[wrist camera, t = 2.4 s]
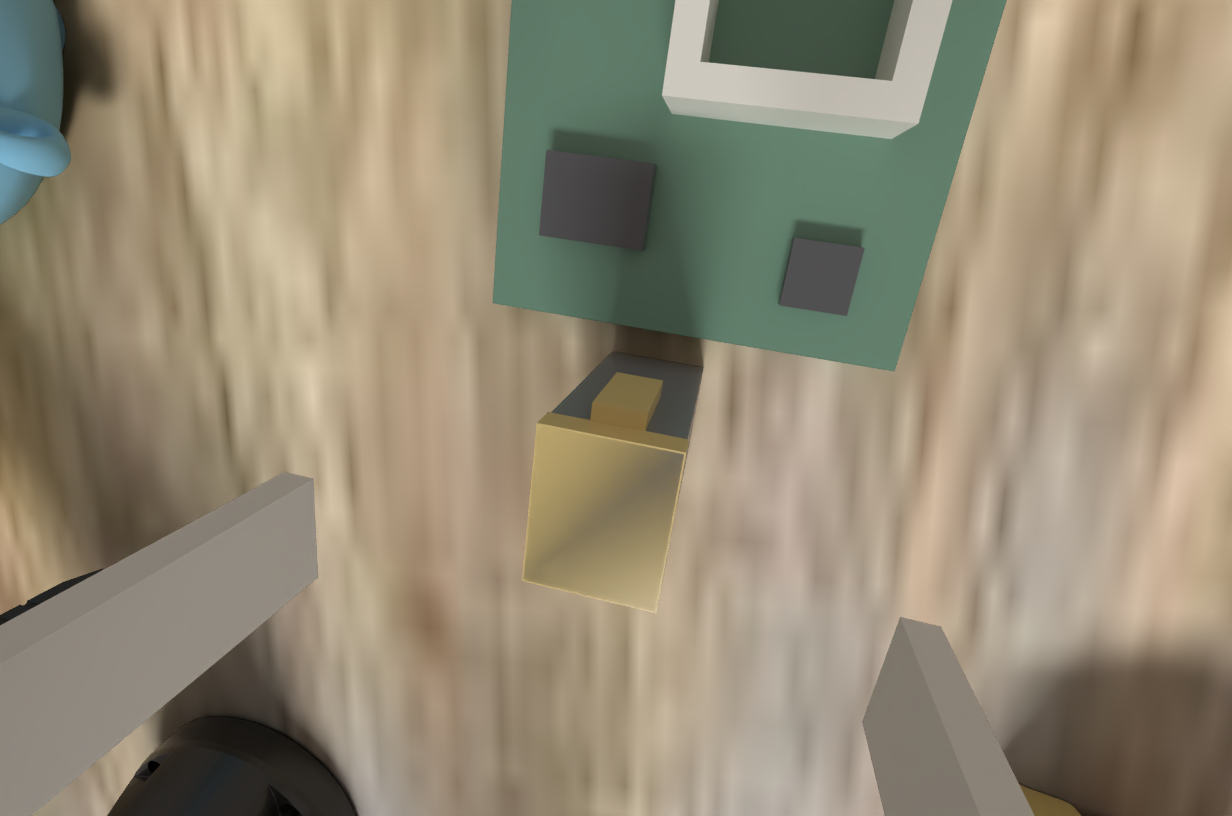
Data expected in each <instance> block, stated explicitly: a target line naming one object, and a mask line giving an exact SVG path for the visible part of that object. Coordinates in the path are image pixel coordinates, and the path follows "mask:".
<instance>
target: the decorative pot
mask: <svg viewBox="0 0 1232 816" xmlns="http://www.w3.org/2000/svg"><path fill="white" fill-rule="evenodd" d="M64 44H65V27H64V23H63V20H62V17H61V15H60V13H59V11H58V9H57V8H56V6H55V5H54V2H53V0H0V224H2V223H3V222H5V221H6V220H8V219H9V218H11V217H12V216H13V215H15V214H16V213H17V212H18V211H19V210H20V209H21V208H22V207H24V206H25V205H26V204H27V202H28V201H29V200H30V199H31V197H32V196H33V195H34V194H35V192H36V190H37V188H38V187H39V185H40V183H41V181H42V179H43V177H44V176H46V177H52V176H57V175H59V174H61V173H62V172H63V171H64V170H65V169H66V168H67V166H68V165H69V163H70V160H71V154H70V150H69V146H68V143H67V142H66V140H65V138H64V136H63V135H62V134H61V133H60V131H59V130H60V124H61V116H62V108H63V60H62V50H63V48H64Z"/></svg>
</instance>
